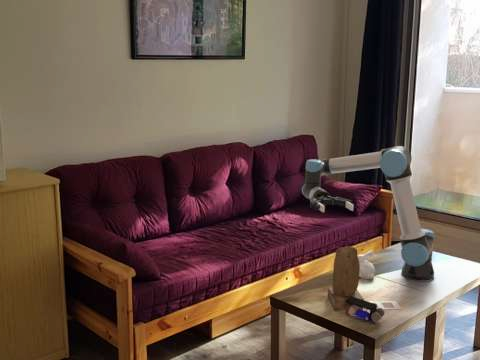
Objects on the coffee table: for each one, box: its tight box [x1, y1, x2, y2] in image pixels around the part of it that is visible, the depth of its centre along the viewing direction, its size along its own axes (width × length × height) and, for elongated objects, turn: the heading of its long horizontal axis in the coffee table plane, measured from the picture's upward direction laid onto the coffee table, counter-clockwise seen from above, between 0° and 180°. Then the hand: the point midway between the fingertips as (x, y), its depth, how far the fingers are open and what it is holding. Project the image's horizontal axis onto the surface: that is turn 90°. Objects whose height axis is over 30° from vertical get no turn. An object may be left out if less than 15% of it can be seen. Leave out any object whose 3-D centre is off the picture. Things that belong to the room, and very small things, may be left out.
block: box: [332, 245, 360, 297], centre depth 245 cm, size 11×8×20 cm
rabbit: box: [357, 249, 376, 280], centre depth 278 cm, size 12×9×12 cm
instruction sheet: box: [365, 300, 402, 311], centre depth 247 cm, size 15×8×1 cm, turn 94°
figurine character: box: [344, 296, 386, 325], centre depth 234 cm, size 7×8×15 cm
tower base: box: [327, 286, 364, 312], centre depth 247 cm, size 12×13×5 cm
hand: (338, 208), depth 254 cm, fingers open, 13 cm apart
